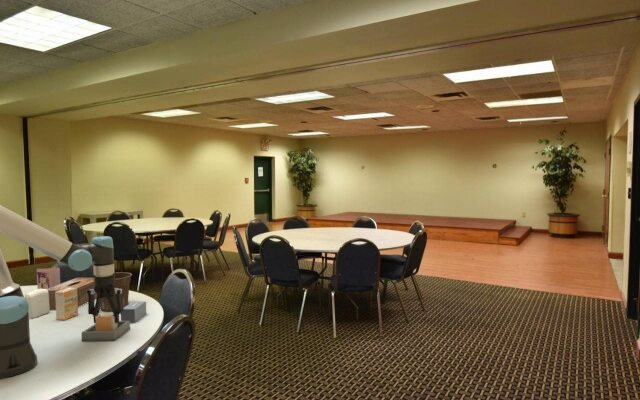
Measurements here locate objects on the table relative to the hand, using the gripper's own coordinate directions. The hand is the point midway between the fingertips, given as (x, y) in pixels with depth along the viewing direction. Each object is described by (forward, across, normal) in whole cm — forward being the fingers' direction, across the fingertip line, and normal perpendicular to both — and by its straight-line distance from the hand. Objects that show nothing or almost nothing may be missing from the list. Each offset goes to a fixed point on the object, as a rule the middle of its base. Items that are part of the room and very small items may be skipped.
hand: (107, 330), depth 171 cm
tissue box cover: (+2, +41, -46) cm, 62 cm away
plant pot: (+2, +15, -36) cm, 39 cm away
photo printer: (+2, +46, -25) cm, 52 cm away
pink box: (+2, +63, -59) cm, 86 cm away
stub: (0, 0, 0) cm, 0 cm away
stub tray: (+2, 0, 0) cm, 2 cm away
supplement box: (+2, +30, -22) cm, 37 cm away
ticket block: (+2, -2, -20) cm, 20 cm away
